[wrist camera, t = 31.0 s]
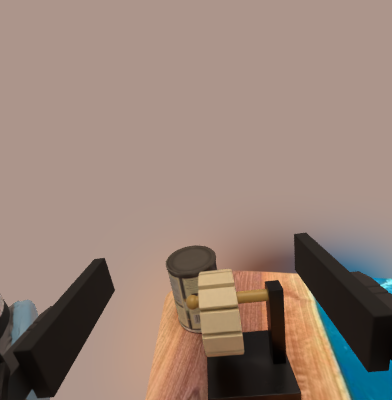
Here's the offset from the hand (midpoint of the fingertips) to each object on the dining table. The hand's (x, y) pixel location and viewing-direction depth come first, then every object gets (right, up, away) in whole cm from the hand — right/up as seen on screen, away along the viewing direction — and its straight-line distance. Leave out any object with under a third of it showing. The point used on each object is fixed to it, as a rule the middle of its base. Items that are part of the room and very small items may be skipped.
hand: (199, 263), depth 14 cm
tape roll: (+3, -12, +17) cm, 21 cm away
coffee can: (+1, -21, +32) cm, 38 cm away
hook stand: (+8, -23, +20) cm, 32 cm away
